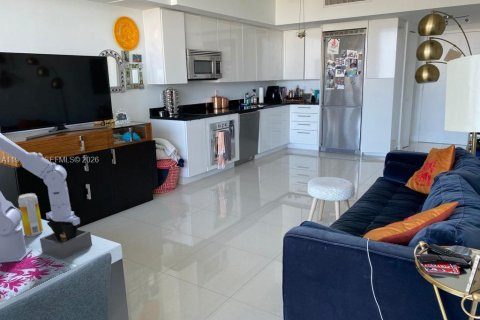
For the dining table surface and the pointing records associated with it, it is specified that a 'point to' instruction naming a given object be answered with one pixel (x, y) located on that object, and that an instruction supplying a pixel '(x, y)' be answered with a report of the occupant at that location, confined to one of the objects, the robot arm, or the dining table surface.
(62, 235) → the plunger
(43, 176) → the robot arm
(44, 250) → the grey square open box
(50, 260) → the dining table surface
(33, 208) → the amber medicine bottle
